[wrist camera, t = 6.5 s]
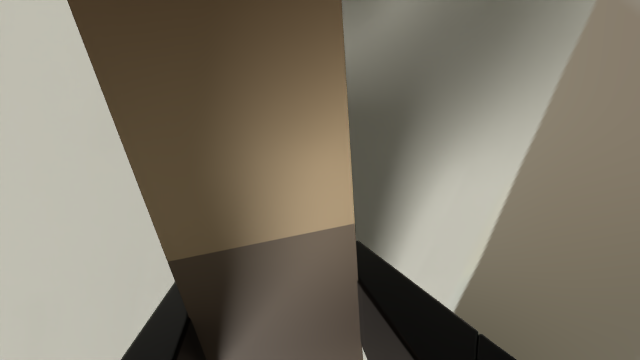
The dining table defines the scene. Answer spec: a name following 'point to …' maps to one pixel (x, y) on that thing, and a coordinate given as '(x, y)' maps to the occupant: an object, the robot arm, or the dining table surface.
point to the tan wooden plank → (240, 163)
